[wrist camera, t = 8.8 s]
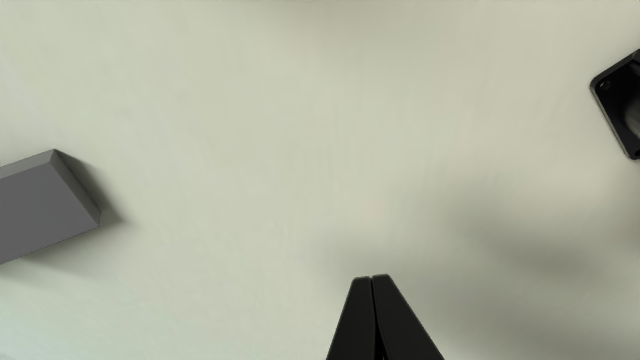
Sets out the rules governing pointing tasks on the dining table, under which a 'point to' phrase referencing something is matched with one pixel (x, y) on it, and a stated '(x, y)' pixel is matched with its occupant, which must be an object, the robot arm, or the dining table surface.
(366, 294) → the robot arm
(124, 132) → the dining table surface
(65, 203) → the domino
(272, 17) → the dining table surface
